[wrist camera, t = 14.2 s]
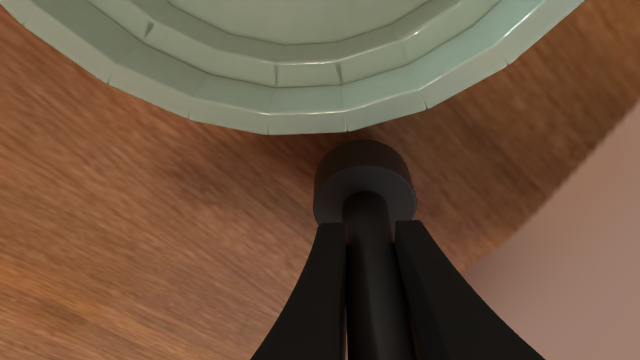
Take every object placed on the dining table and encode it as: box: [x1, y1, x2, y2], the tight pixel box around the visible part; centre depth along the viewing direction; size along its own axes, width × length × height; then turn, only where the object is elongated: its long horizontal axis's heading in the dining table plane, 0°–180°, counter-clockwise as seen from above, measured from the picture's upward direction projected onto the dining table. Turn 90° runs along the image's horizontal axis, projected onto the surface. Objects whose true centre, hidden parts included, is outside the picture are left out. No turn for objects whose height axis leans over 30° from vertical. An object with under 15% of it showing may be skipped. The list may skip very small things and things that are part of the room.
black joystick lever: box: [313, 140, 417, 360], centre depth 10 cm, size 3×3×10 cm
